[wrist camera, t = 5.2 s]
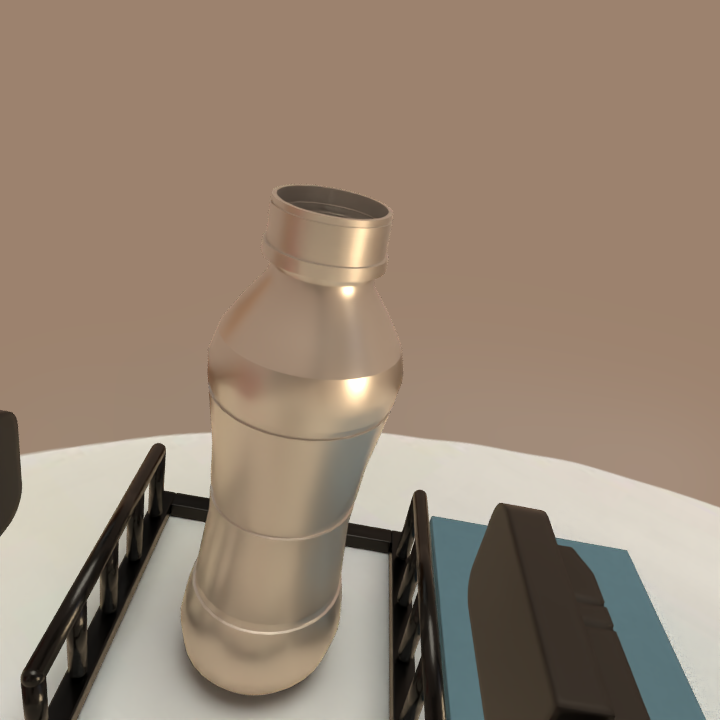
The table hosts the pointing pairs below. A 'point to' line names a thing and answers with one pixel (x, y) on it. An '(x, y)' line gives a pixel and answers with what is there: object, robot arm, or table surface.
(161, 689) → the table surface
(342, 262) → the beige bottle
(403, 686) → the dish rack
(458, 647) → the drying mat
